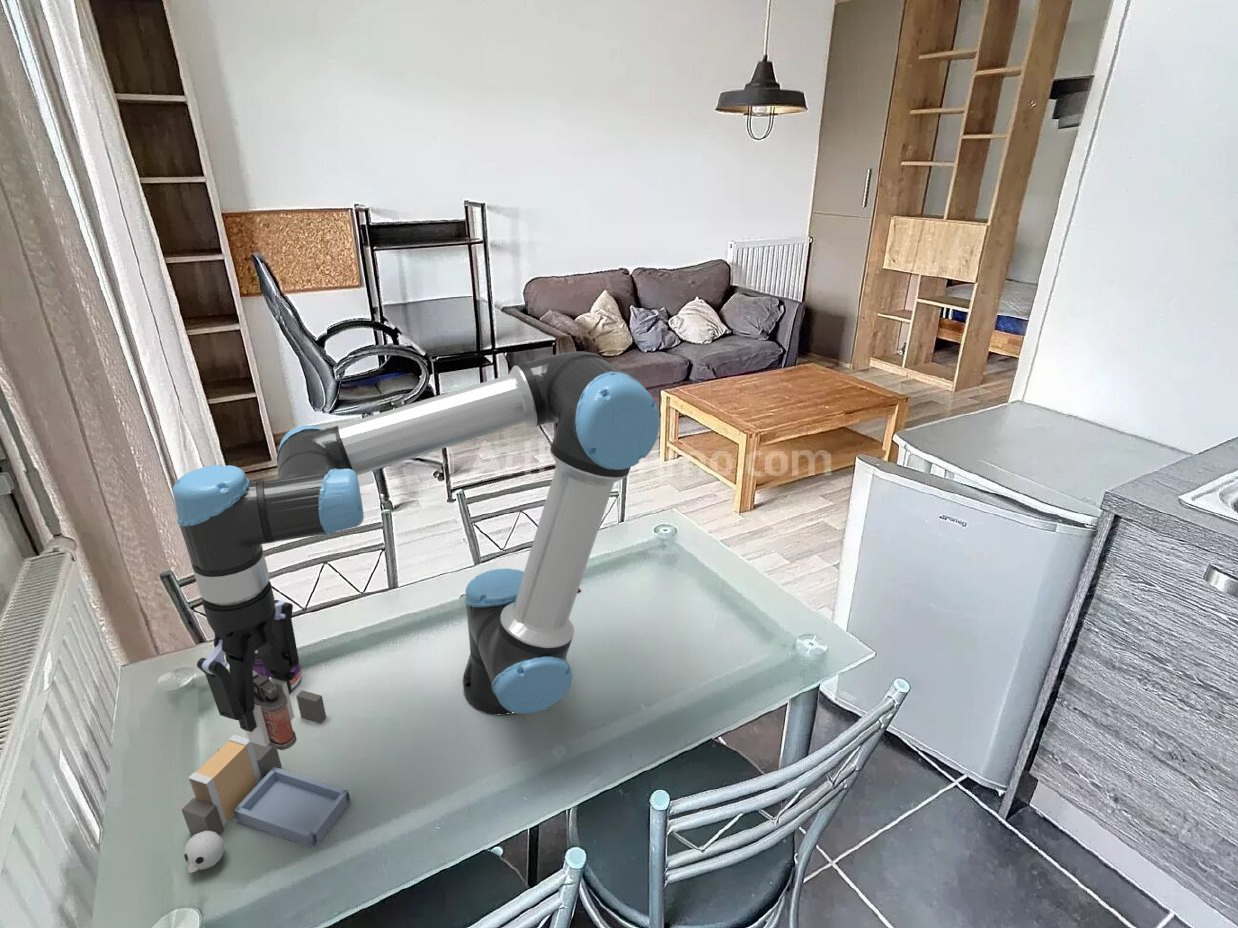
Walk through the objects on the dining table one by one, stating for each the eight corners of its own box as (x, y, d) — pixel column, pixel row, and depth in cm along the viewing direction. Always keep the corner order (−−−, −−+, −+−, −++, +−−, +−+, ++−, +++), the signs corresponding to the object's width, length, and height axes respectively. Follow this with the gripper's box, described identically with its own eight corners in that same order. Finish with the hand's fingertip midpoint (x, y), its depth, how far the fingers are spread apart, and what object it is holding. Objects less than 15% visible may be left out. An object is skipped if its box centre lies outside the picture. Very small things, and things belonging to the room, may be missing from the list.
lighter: (302, 737, 93) (289, 682, 88) (280, 754, 90) (265, 698, 86) (267, 713, 96) (253, 658, 92) (244, 728, 94) (228, 672, 90)
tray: (350, 801, 102) (348, 790, 101) (314, 848, 95) (311, 837, 94) (276, 777, 105) (273, 766, 104) (237, 821, 98) (233, 810, 97)
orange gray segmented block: (326, 717, 116) (317, 676, 112) (212, 841, 96) (197, 796, 92) (306, 711, 117) (297, 670, 113) (190, 833, 97) (173, 788, 93)
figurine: (177, 877, 91) (167, 853, 89) (203, 843, 95) (195, 819, 93) (210, 884, 90) (201, 860, 88) (235, 849, 95) (227, 826, 92)
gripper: (263, 547, 91) (293, 680, 101) (150, 624, 76) (199, 770, 86) (309, 557, 89) (336, 692, 99) (203, 638, 75) (247, 787, 85)
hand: (272, 728), depth 93 cm, fingers closed on lighter, 4 cm apart
